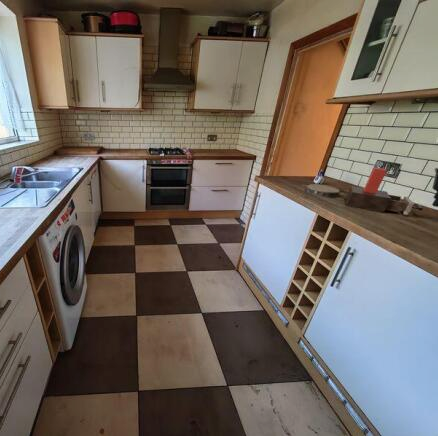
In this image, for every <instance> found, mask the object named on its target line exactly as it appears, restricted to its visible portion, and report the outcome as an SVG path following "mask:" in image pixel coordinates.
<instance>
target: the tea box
mask: <svg viewBox="0 0 438 436" xmlns="http://www.w3.org/2000/svg"><path fill="white" fill-rule="evenodd" d="M387 171H388V170H387V169H386V168H381V167H372V170H371V173H370V175H369V177H368V179H367V181H366V182H365V183H366V184H365V186H364V187H363V188H364V192H369V193H375V194H376V192H377V190H379V188H380V186H381V184H382V182H383V180H384V178H385V176H386V174H387Z"/></svg>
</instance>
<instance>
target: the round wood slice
mask: <svg viewBox="0 0 438 436" xmlns="http://www.w3.org/2000/svg"><path fill="white" fill-rule="evenodd" d="M306 192H307V193H309V194H311V195H315V196H318V197H323V198H324V197H325V198H336V197H338V196H339V193H340V189H339V188H337V187H334V186H329V185H325V184H318V183H317V184H316V183H310V184H308V185H307V187H306Z"/></svg>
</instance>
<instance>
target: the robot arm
mask: <svg viewBox="0 0 438 436" xmlns="http://www.w3.org/2000/svg"><path fill="white" fill-rule="evenodd" d="M434 172H435V175H434V180H433V184H432V190H434V191H436V192H435V193H434V195H433V199H434V201H433V202H432V204H431V205H432V206H433V207H436V208H438V167H435V168H434Z"/></svg>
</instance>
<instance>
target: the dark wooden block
mask: <svg viewBox="0 0 438 436" xmlns="http://www.w3.org/2000/svg"><path fill="white" fill-rule="evenodd" d="M364 188H365V187H361V186H354V185H350V188H349V190H348V192H347V195H346V197H345V203H346V206H348V207H352V208H357V209H363V210H367V211H368V210H369V211H373V212H378V213H384V212H385V211H386V210H385V209H386V207H387V205H388V203H389V201H390V200H391V198H390V196H389V195H390V194H389V193H388V191H386V190H379V189H378V190H377V192H376V194H375V193H369V192H364Z"/></svg>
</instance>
